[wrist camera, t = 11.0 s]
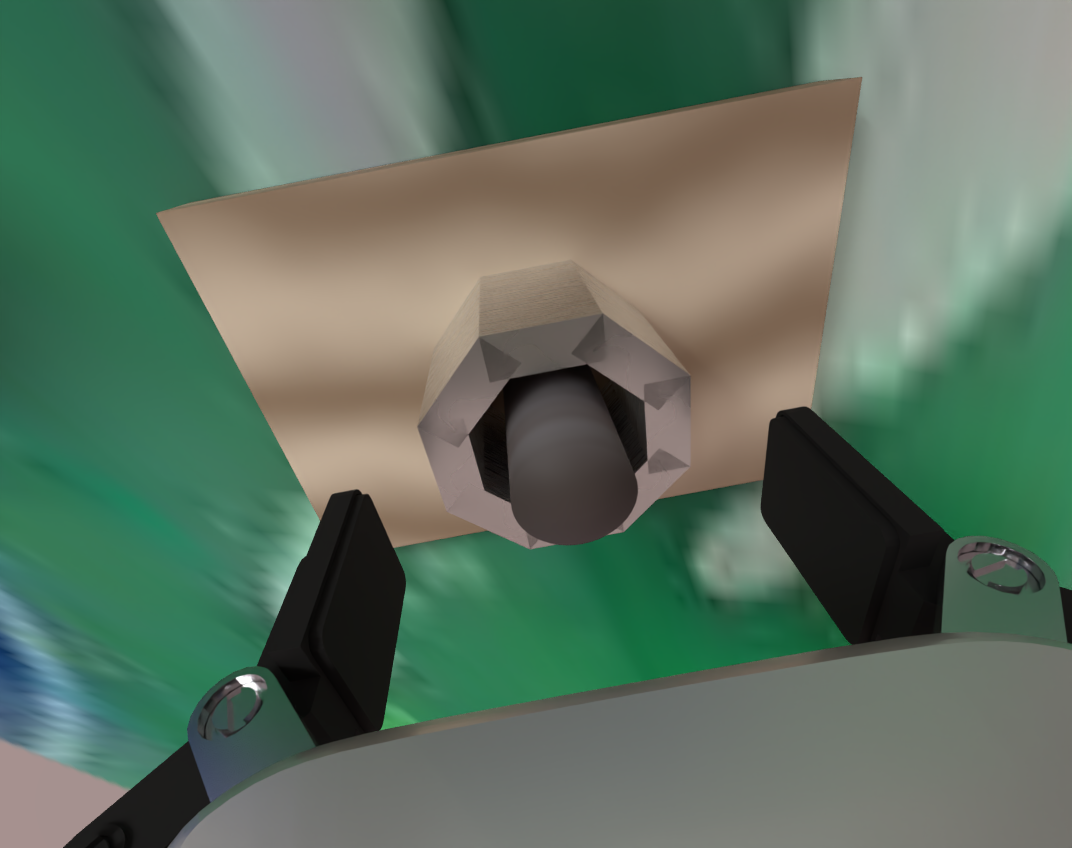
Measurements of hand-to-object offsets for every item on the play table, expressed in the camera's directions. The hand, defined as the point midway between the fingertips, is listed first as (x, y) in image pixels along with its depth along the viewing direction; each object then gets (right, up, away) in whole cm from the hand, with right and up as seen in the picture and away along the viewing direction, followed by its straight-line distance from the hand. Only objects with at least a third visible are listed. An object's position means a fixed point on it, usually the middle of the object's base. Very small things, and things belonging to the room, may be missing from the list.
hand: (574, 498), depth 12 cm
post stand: (-1, +5, +8) cm, 9 cm away
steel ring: (-1, +4, +6) cm, 7 cm away
